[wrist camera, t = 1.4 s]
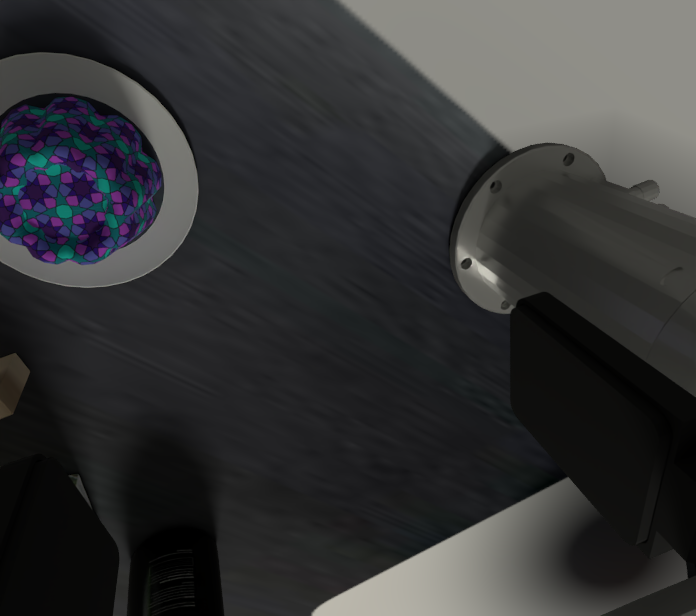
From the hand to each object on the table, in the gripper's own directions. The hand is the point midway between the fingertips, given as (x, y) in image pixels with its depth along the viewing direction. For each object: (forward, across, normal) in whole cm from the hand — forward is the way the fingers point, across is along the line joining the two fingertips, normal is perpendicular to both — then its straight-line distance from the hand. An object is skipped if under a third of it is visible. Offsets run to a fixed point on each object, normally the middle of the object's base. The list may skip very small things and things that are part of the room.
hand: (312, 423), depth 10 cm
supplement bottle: (+22, +13, +29) cm, 38 cm away
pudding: (+22, +8, -2) cm, 23 cm away
